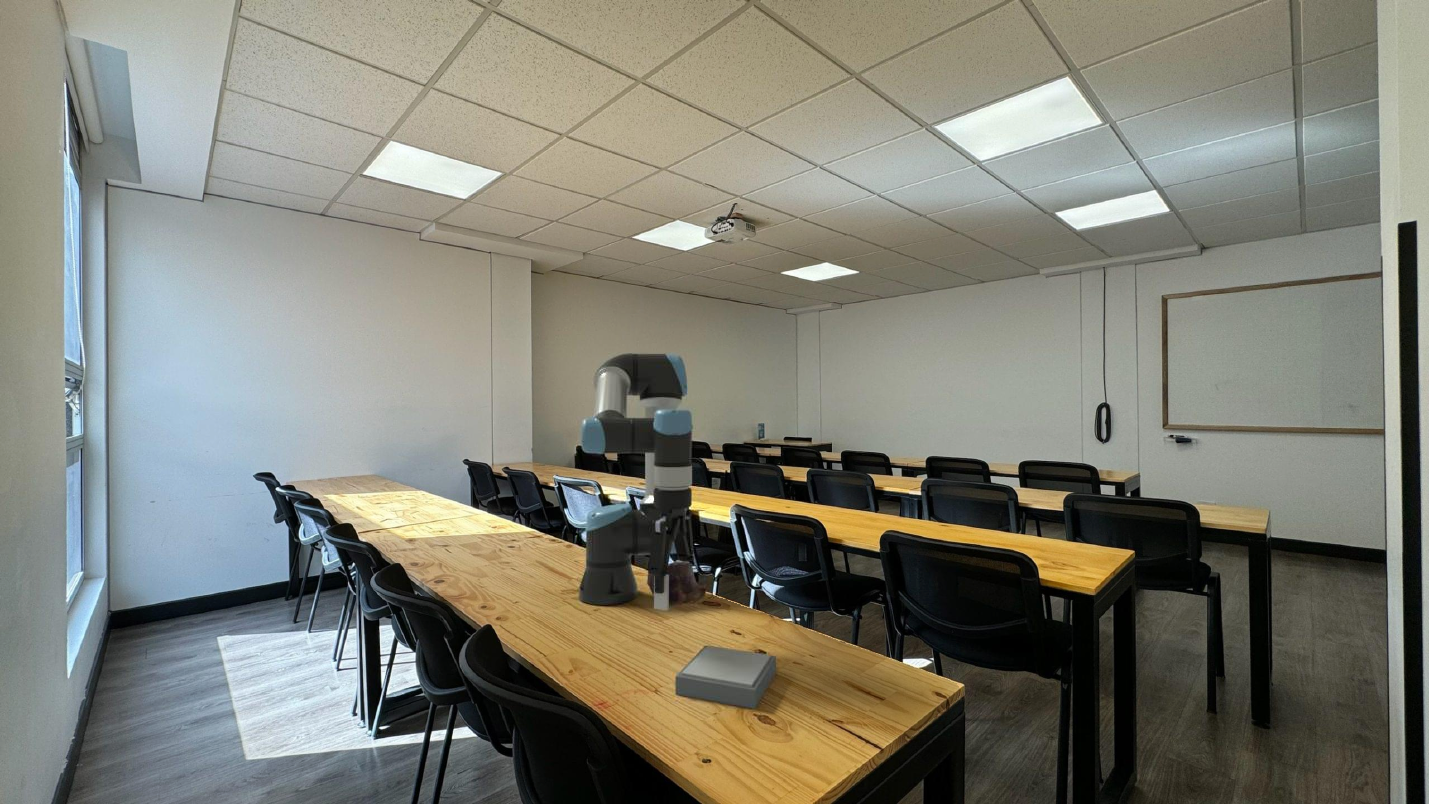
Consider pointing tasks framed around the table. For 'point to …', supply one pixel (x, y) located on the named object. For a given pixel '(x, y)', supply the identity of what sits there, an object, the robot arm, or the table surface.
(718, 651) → the grey flat square block
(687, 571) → the rock
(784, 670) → the table surface
